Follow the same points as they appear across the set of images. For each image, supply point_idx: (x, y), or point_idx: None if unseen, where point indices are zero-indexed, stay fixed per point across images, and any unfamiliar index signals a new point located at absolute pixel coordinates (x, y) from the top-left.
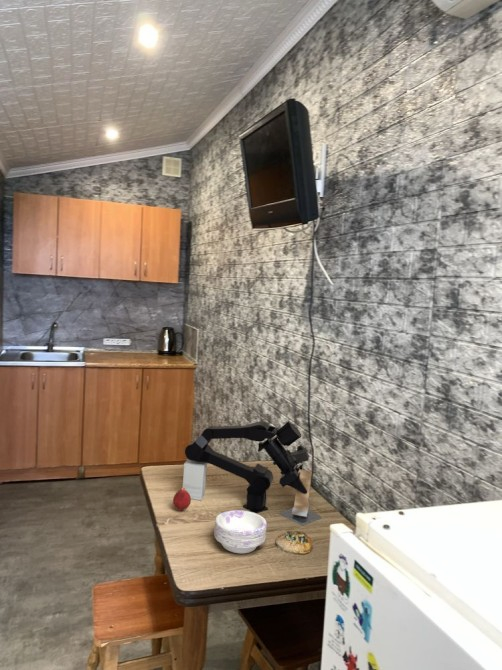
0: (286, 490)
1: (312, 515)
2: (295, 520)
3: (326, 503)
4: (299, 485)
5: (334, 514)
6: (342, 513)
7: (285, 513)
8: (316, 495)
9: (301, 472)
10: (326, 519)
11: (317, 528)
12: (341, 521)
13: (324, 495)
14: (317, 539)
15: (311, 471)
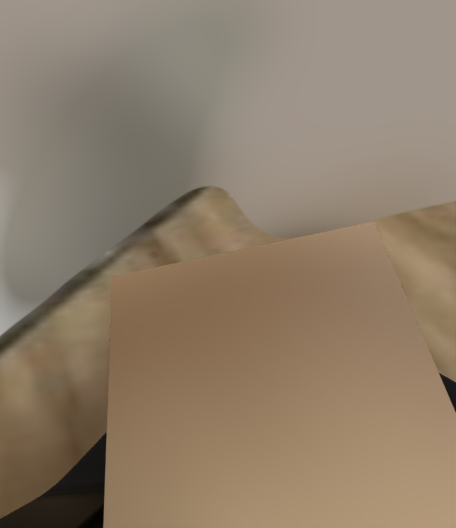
0: (30, 485)
1: None
2: None
3: (104, 282)
4: None
5: (182, 235)
6: (162, 216)
7: None
8: (47, 335)
9: (324, 513)
10: (236, 247)
11: None
12: (224, 202)
13: (40, 307)
14: (427, 229)
15: (118, 283)
